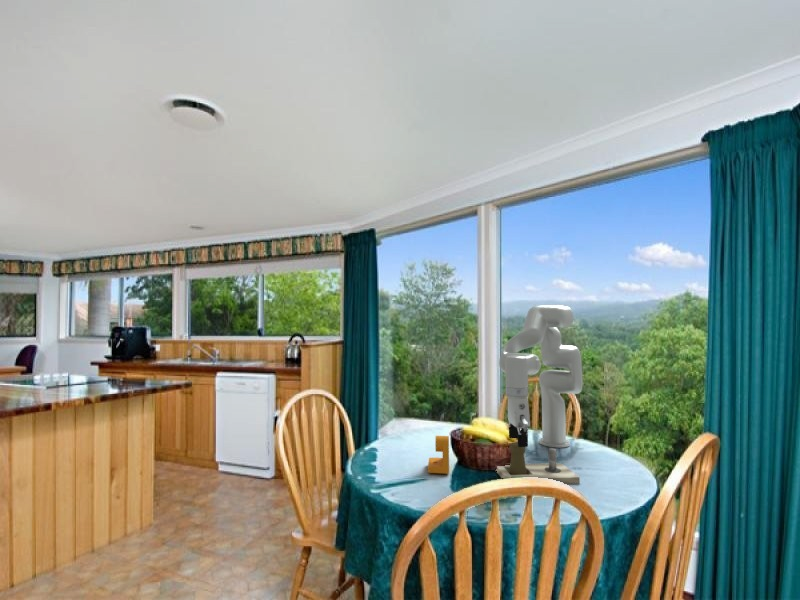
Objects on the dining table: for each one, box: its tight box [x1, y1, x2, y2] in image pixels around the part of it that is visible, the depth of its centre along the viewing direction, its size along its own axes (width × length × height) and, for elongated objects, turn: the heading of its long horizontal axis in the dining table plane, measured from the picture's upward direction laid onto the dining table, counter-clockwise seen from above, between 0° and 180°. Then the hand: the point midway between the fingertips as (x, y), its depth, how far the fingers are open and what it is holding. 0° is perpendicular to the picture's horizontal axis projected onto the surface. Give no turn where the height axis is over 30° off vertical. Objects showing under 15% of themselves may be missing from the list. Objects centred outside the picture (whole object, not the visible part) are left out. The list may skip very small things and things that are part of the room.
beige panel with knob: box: [495, 447, 581, 485], centre depth 146 cm, size 14×24×9 cm, turn 92°
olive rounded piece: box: [509, 442, 527, 475], centre depth 147 cm, size 6×6×11 cm
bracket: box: [427, 435, 450, 474], centre depth 153 cm, size 11×7×12 cm, turn 174°
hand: (518, 442), depth 147 cm, fingers open, 9 cm apart
